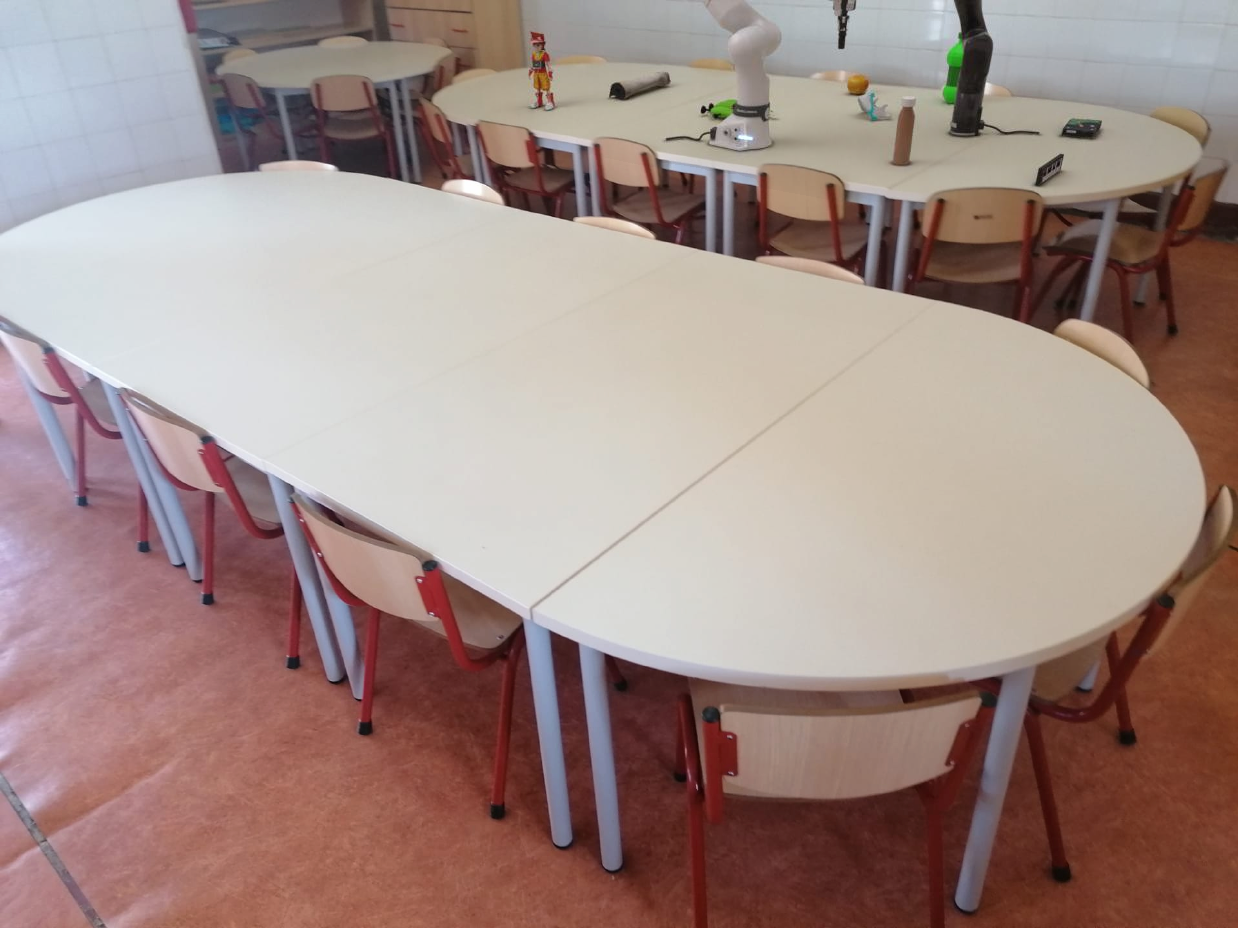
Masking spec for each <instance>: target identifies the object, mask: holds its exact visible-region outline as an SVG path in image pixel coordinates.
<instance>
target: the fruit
mask: <svg viewBox="0 0 1238 928" xmlns="http://www.w3.org/2000/svg"><path fill="white" fill-rule="evenodd" d="M869 85H870V83H869V79H868V78H867V77H866V76H864V75H863V74H857V75H852V76H851V77H850V78H849V79H848V81H847V83H846V88H847V90H848V92H849V93H850V94H853V95H861V94H864V93H866V92H867V90H868V89H869Z"/></svg>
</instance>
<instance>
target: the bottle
mask: <svg viewBox="0 0 1238 928" xmlns="http://www.w3.org/2000/svg"><path fill="white" fill-rule="evenodd" d="M901 107H902V108H901V109H900V112H899V113H898V115H897V122H896V130H895V131H896V132H895V138H894V147H893V155H892V156H893V157H892V164H894V165H896V166H906V165H909V164H910V157H911V150H912V144H913V143H912V142H913V136H914V128H915V121H916V113H915V110H914V107H903V106H901Z"/></svg>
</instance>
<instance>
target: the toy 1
mask: <svg viewBox="0 0 1238 928" xmlns="http://www.w3.org/2000/svg"><path fill="white" fill-rule="evenodd" d="M529 33H530V35H531V36H528V37H527V38H528V39H529V40H528V41H527V43H529V44H530V43H531V44H532V48H533V50H534V51H533V52H532V55H531V58H530V59H531V63H530V66H528V74H527V75H528V76H527V77H528V79H529V80H531V75H532V74H533V84H532V85H533V86H532V87H533V88H534V89H535V90H536V92H534V95H535V97H536V100H535V101H533V102H531V105H530V108H531V109H535V108H538V107H542V106H544V101H543V100H544V99H543V95H544V92H546V94H545V97H546V99H547V103H546V104H545V106H544V110H546V111H549V110H553V109H554V107H555V106H556V105H555V99H554V92H551V91H550V90H551V86H552V84H551V82H552V81H553V80H554V77H553V73H554V71H555V70H554V69H552V68H551V63H550V61H551V59H550V58H551V57H550V54H549V53H548V52H547V50H546V48H545V46H546V44H547V41H545V35H544V33H543V32H542V33H539V32H535V31H529Z"/></svg>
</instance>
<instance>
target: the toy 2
mask: <svg viewBox="0 0 1238 928" xmlns="http://www.w3.org/2000/svg"><path fill="white" fill-rule="evenodd" d="M736 102H737V99H726V100H723V101H720V102H717V103H716V104H715V105H714V103H712V102H710V103H709V105H708V108H707V107H706V106H705V105H702V106H700V107H701V108H700V114H701V115H705V114H706V112H710V115H712V116H713V119H719V118H721V119H726V118H727V117H728V116H730V115H731V114H732V112H733V109H730V108H731V107H730V106H732V105H733V104H735V103H736ZM770 113H774V110H771V109H770ZM769 119H774V120H775V119H777V117H773V116H770V117H769Z"/></svg>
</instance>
